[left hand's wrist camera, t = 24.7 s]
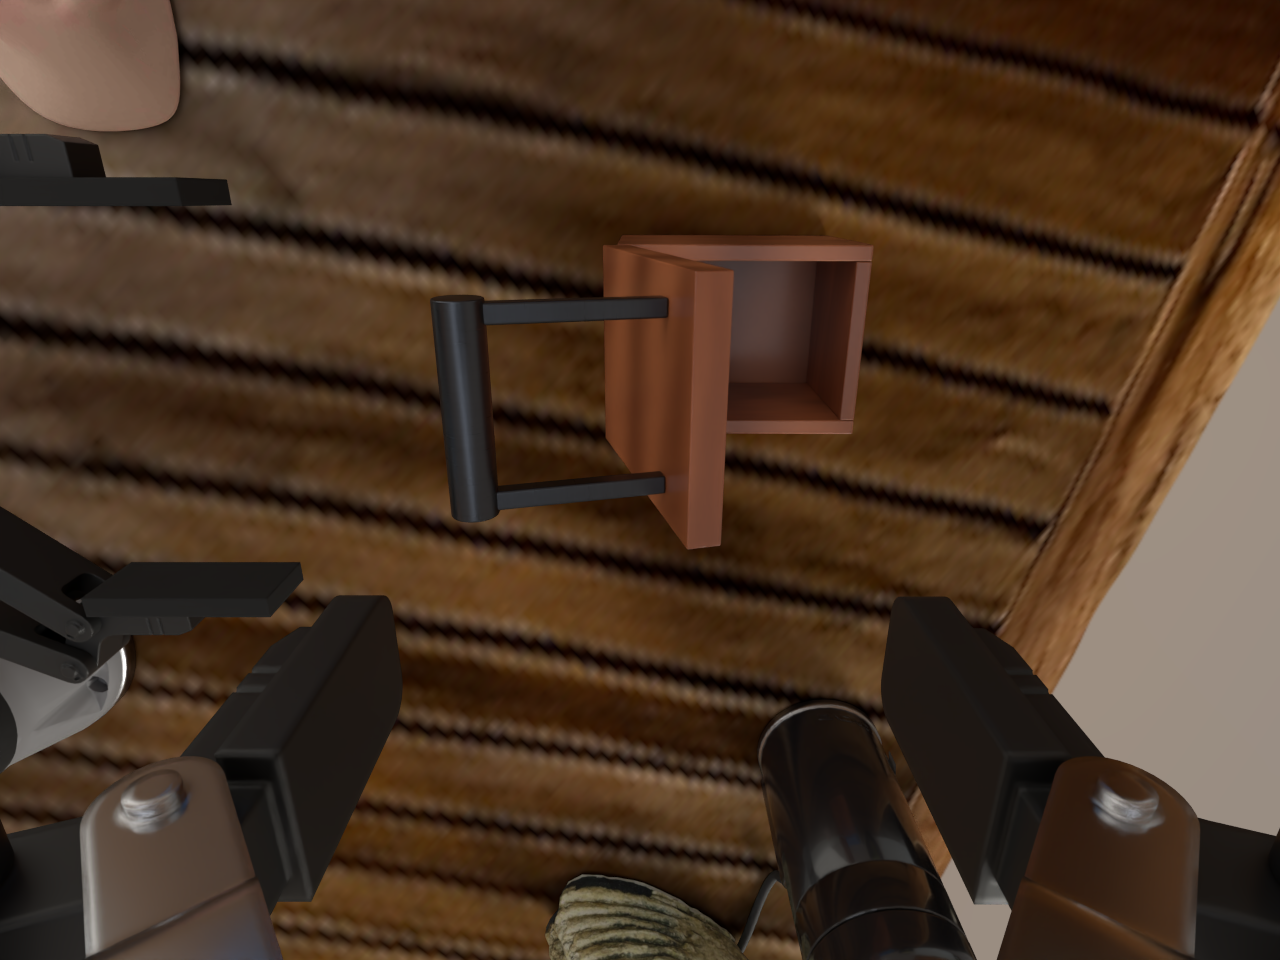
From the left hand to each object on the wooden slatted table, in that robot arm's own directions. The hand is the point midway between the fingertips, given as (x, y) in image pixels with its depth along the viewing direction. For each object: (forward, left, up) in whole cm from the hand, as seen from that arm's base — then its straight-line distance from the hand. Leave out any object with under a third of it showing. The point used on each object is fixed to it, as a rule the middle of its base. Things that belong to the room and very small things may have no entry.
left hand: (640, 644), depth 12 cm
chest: (+1, -5, -35) cm, 35 cm away
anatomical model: (+6, +34, -35) cm, 49 cm away
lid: (0, -1, -19) cm, 19 cm away
